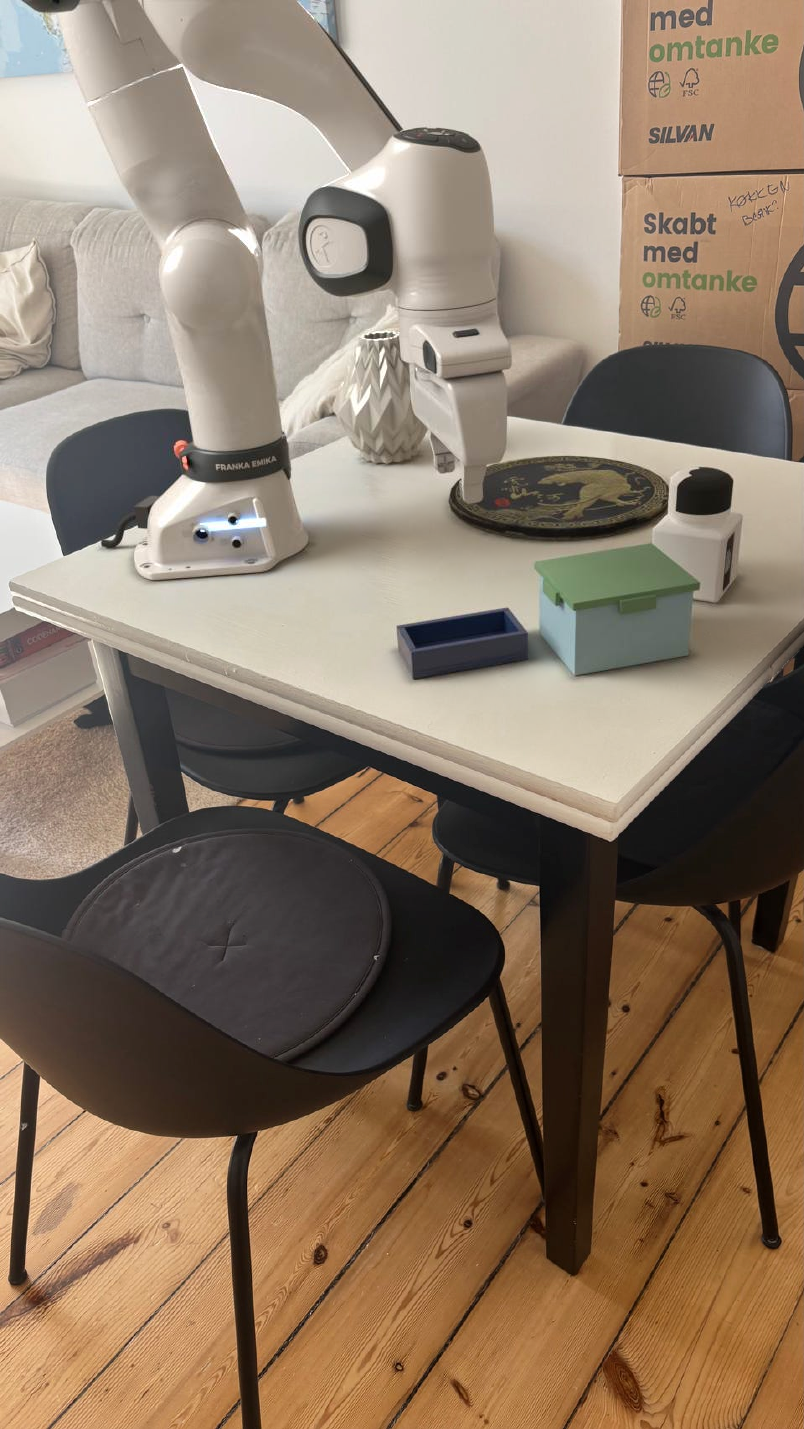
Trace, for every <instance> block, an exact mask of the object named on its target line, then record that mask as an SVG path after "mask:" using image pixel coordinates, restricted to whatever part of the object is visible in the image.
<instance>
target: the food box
mask: <svg viewBox="0 0 804 1429" xmlns="http://www.w3.org/2000/svg"><path fill="white" fill-rule="evenodd" d="M533 563H534V564H533V565H534V567H533V568H534V570H535V571H536V572H537V573H538V575H539V634H540V636H541V637H542V638H543V639H544V640H545V642H546V643H547V644H548V646H550V648H551V649H552V650H553V652H554V653H555V654H556V655H557V656H558V658H559V659H560V660H561V661H562V662H563V664H564V665H565V666H566V667H567V668H568V670H569V671H570V672H571V674H572V675H573V676H580V675H581V676H582V675H587V674H592V673H598V672H603V671H609V670H615V669H621V668H627V667H633V666H637V665H643V664H649V663H654V662H659V661H665V660H671V659H676V658H682V657H687V656H689V650H690V638H691V637H690V636H691V626H692V612H693V601H694V600H693V591H696V590H700V582H699V581H698V580H696V579H695V578H694V577H693V576H692V575H690V574H689V573H688V572H687V571H685V570H684V569H683V568H682V567H680V566H679V565H678V564H677V563H675V562H674V561H673V560H672V559H670V558H669V557H668V556H667V555H666V554H664V553H663V552H662V551H661V550H659V549H658V548H657V547H656V546H654V545H653V544H652V542H649V543H644V544H638V545H630V546H625V547H618V548H611V549H605V550H600V551H599V550H598V551H591V552H586V553H579V554H573V555H567V556H562V557H561V556H560V557H554V558H548V559H542V560H536V561H534V562H533Z"/></svg>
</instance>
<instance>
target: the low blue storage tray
mask: <svg viewBox="0 0 804 1429" xmlns="http://www.w3.org/2000/svg"><path fill="white" fill-rule="evenodd" d="M395 627H396V636H397V637H396V639H397V649H398V650H397V652H398V653H399V655H400V658H401V659H402V661H403V662H404V665H405V667H406V669H407V670H408V673H409V674H410V677H411V678H412V679H413V680H416V679H423V678H429V677H434V676H438V675H447V674H451V673H457V672H461V671H462V672H463V671H468V670H474V669H480V668H486V667H492V666H497V665H503V664H508V663H514V662H521V661H526V660H529V632H528V631H527V630H526V628H525V627H524V626H523V625H522V624H521V622H520V620H518V618H517V617H516V616H515V614H514V613H513V612H512V610H511V609H510V608H509V607H508V606H507V607H502V608H501V607H500V608H497V609H496V608H495V609H488V610H484V611H483V610H482V611H477V612H470V613H465V614H459V615H452V616H447V617H441V618H435V619H429V620H423V621H417V622H410V623H405V624H398V625H396V626H395Z"/></svg>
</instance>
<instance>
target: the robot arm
mask: <svg viewBox="0 0 804 1429" xmlns="http://www.w3.org/2000/svg"><path fill="white" fill-rule="evenodd" d="M21 2H23V3H24V4H26V5H27V6H28V7H29V8H31V9H32V10H34V11H35V12H38V13H44V14H45V13H46V14H53V13H54V14H55V15H56V19H57V23H58V26H59V31H60V34H61V38H62V40H63V45H64V47H65V51H66V54H67V56H68V60H69V63H70V66H71V68H72V71H73V74H74V76H75V79H76V82H77V85H78V88H79V90H80V91H81V92H80V93H81V95H82V97H83V99H84V101H85V104H86V106H87V108H88V110H89V113H90V115H91V117H92V120H93V121H94V124H95V126H96V129H97V130H98V133H99V135H100V138H101V139H102V143H103V144H104V147H105V149H106V151H107V153H108V155H109V157H110V160H111V162H112V164H113V166H114V169H115V171H116V173H117V175H118V179H119V180H120V183H121V184H122V187H123V188H124V189H125V190H126V192H127V194H128V195H129V197H130V198H131V200H132V202H133V204H134V205H135V207H136V208H137V210H138V212H139V215H141V217H142V220H143V221H144V223H145V225H146V226H147V229H148V230H149V232H150V234H151V236H152V238H153V240H154V242H155V243H156V246H157V247H158V250H159V251H160V254H161V255H160V256H161V257H160V259H159V264H158V282H159V287H160V292H161V298H162V302H163V307H164V311H165V316H166V320H167V325H168V328H169V333H170V337H171V340H172V345H173V349H174V352H175V355H176V360H177V363H178V367H179V370H180V375H181V378H182V383H183V389H184V394H185V401H186V406H187V413H188V418H189V419H188V420H189V424H190V430H191V436H192V441H191V442H189V443H187V441H186V440H183V439H182V440H181V439H180V440H178V441H176V442H175V444H174V445H173V450H174V455H175V457H176V458H177V459H179V466H180V470H181V476H180V477H179V478H177V480H175V482H173V484H171V486H169V488H167V489H166V491H164V493H162V494H161V495H160V496H158V495H149V496H148V497H146V498H144V499H142V500H141V501H140V502H138V503H137V504H135V505H133V511H132V512H130V513H128V514H127V515H125V516H124V517H123V518H122V519H121V520H120V521H119V523H118V524H117V527H116V532H115V536H114V538H113V539H105V538H103V539H102V538H101V541H100V545H101V547H102V548H110V549H112V548H116V547H118V546H119V545H120V544H121V542H122V541H123V538H124V535H125V530H126V528H127V526H129V524H130V523H131V522H133V521H136V524H137V529H142V530H143V529H144V530H146V535H147V536H145V537H144V538H143V539H141V540H140V541H139V542H138V543H137V545H136V547H135V548H134V551H133V561H134V567H135V570H136V572H137V573H138V574H139V575H140V576H142V577H143V578H145V579H148V580H149V581H159V580H160V581H161V580H173V579H185V578H186V579H188V578H198V577H199V578H200V577H211V576H213V577H214V576H223V575H238V574H239V575H240V574H249V573H262V572H266V571H269V570H271V569H272V568H274V567H275V566H276V565H277V564H278V563H279V562H282V561H284V560H285V559H287V558H289V557H292V556H294V555H295V554H298V553H299V552H300V551H302V550H303V549H305V547H306V546H307V544H308V543H309V535H308V533H307V531H306V529H305V526H304V523H303V521H302V518H301V515H300V513H299V509H298V507H297V503H296V498H295V496H294V491H293V486H292V483H291V478H292V460H291V453H290V445H289V441H288V438H287V435H286V432H285V431H284V430H283V426H282V419H281V409H280V402H279V401H280V400H279V393H278V385H277V376H276V371H275V370H276V369H275V364H274V358H273V354H272V348H271V341H270V334H269V330H268V322H267V315H266V307H265V301H264V294H263V276H264V257H263V252H262V249H261V246H260V244H259V241H258V239H257V236H256V234H255V232H254V231H255V230H254V229H253V227H252V225H251V222H250V219H249V218H248V215H247V213H246V210H245V208H244V206H243V203H242V201H241V198H240V196H239V195H238V192H237V190H236V188H235V185H234V183H233V181H232V179H231V176H230V174H229V172H228V170H227V167H226V165H225V163H224V161H223V159H222V156H221V154H220V151H219V150H218V148H217V145H216V143H215V140H214V138H213V135H212V132H211V130H210V127H209V126H208V124H207V121H206V117H205V114H204V113H203V111H202V108H201V105H200V102H199V100H198V98H197V94H196V92H195V90H194V87H193V85H192V82H191V81H190V78H189V75H188V73H187V70H188V71H189V72H190V73H191V74H192V75H193V76H195V78H197V79H199V80H200V81H202V82H204V83H206V84H208V85H210V86H214V87H217V88H220V89H223V90H226V91H227V90H228V91H232V92H237V93H241V94H245V95H250V96H253V97H256V98H260V99H263V100H266V101H269V102H273V103H275V104H278V105H281V106H283V107H285V108H287V109H289V110H291V111H293V112H295V113H296V114H298V115H299V116H301V117H302V118H304V119H305V120H306V121H307V122H309V123H310V124H311V125H312V126H313V127H314V128H315V130H317V131H318V133H319V134H320V135H321V136H322V137H323V139H324V140H325V142H326V143H327V144H328V146H329V147H330V148H331V149H332V151H333V152H334V153H335V154H336V156H337V157H338V158H339V160H340V161H341V162H342V164H343V165H344V166H345V167H346V169H347V171H349V173H348V174H346V175H344V176H341V177H340V178H338V179H335V180H333V181H331V182H329V183H327V184H325V185H323V186H321V187H319V188H317V189H315V190H314V191H312V192H311V194H309V196H308V197H307V199H306V200H305V202H304V204H303V206H302V208H301V211H300V214H299V219H298V225H297V242H298V248H299V254H300V257H301V260H302V262H303V265H304V268H305V269H306V271H307V273H308V274H309V276H310V277H311V279H312V280H313V281H314V282H315V284H317V286H318V287H320V288H321V289H322V290H323V291H324V292H326V293H327V294H329V295H332V296H334V297H339V298H342V297H343V298H344V297H345V298H346V297H347V298H360V297H363V296H366V295H367V296H368V295H370V294H371V295H372V294H374V293H377V292H383V291H387V290H390V291H391V292H392V293H393V294H394V296H395V303H396V305H395V306H396V314H397V315H396V316H397V328H398V333H399V341H400V353H401V359H402V360H403V361H404V362H406V363H409V368H410V391H411V403H412V408H413V412H414V414H415V416H416V417H417V418H418V419H419V420H420V421H421V422H422V423H423V424H424V425H425V426H426V427H427V429H428V431H427V435H428V439H429V443H430V447H431V451H432V455H433V456H432V457H433V467H434V469H435V470H436V471H437V473H439V474H442V475H443V474H450V473H453V472H455V469H456V464H455V462H456V461H455V460H456V459H457V460H458V462H459V467H460V469H461V478H462V481H459V484H460V496H461V498H462V499H463V500H464V501H465V502H466V503H468V504H470V503H476V502H480V501H481V500H482V499H483V480H484V476H485V472H486V468H487V466H489V465H493V464H497V463H501V462H502V461H503V458H504V455H505V452H506V449H507V439H508V436H507V434H508V433H507V432H508V386H507V379H506V376H505V373H504V371H505V370H510V369H511V368H512V365H513V364H512V363H513V362H512V361H513V360H512V358H513V357H512V356H513V354H512V347H511V343H510V342H509V339H508V338H507V337H506V335H505V333H504V331H503V329H502V326H501V323H500V322H501V321H500V316H499V314H498V295H497V294H498V292H497V288H496V285H495V280H494V278H493V273H492V257H493V253H494V249H495V243H496V242H495V239H496V238H495V218H494V203H493V202H494V201H493V192H492V185H491V184H492V183H491V178H490V172H489V166H488V161H487V159H486V156H485V152H484V149H483V148H482V145H481V144H480V142H479V141H478V140H477V139H475V138H474V137H473V136H471V135H470V134H468V133H467V132H464V131H460V130H456V129H450V128H444V127H435V128H434V127H427V126H426V127H424V126H423V127H410V128H405V129H404V127H402V126H401V124H400V123H399V121H397V119H396V117H395V116H394V115H393V114H392V112H391V111H390V109H389V108H388V106H386V105H385V103H384V101H383V100H382V99H381V98H380V97H379V95H378V94H377V92H376V91H375V90H374V88H373V86H372V85H371V84H370V83H369V81H368V80H367V78H365V76H364V75H363V73H362V72H361V71H360V69H358V67H357V66H356V64H355V63H354V62H353V61H352V59H351V58H350V57H349V55H348V54H347V53H346V51H345V50H344V49H343V48H342V47H341V46H340V44H339V43H338V42H337V41H336V40H335V39H334V37H333V36H332V35H331V34H330V33H329V32H328V31H327V30H326V29H325V28H324V27H323V25H322V24H321V23H320V22H319V21H318V20H317V19H316V18H314V17H313V16H312V14H311V13H309V11H308V10H307V9H306V8H305V7H304V6H303V5H302V4H301V2H299V1H298V0H21ZM455 458H456V459H455Z"/></svg>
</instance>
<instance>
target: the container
mask: <svg viewBox="0 0 804 1429" xmlns="http://www.w3.org/2000/svg"><path fill="white" fill-rule="evenodd" d="M668 487H669V501H668V509H667V514H665V516H664V517H662V519H661V520H660V521H659V522H658V523H657V524H656V525H655V526H654V527H653V528H652V533H651V534H652V535H651V543H652V544H653V545H654V546H656V547H657V548H658V549H659V550H661V551H662V552H663V553H664V554H666V555H667V556H668V557H669V558H670V559H672V560H673V561H674V562H675V563H677V564H678V565H679V566H680V567H682V568H683V569H684V570H685V571H687V572H688V573H689V574H690V575H692V576H693V577H694V578H695V579H696V580H698V581H699V582H700V590H696V591H693V601H700V602H707V603H713V604H716V603H718V602H719V601H720V599H721V598H722V597H723V596H724V594H725V593H726V591H727V590H728V589H729V587H730V586H731V585H732V583H734V581H735V579H736V578H737V576H738V566H739V565H738V564H739V558H740V557H739V556H740V546H741V538H742V537H741V536H742V527H743V519H744V518H743V516H744V515H743V514H742V513H740V512H733V511H731V509H732V501H733V500H732V499H733V490H734V489H733V488H734V478H733V477H732V476H731V475H730V474H729V473H728V472H726V471H723V470H721V469H719V468H716V467H715V468H714V467H709V466H708V467H707V466H694V467H693V466H692V467H687V468H683V469H681V470H679V471H677V472H675V473H674V474H673V475H672V476H671V477H670V479H669V485H668Z"/></svg>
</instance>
